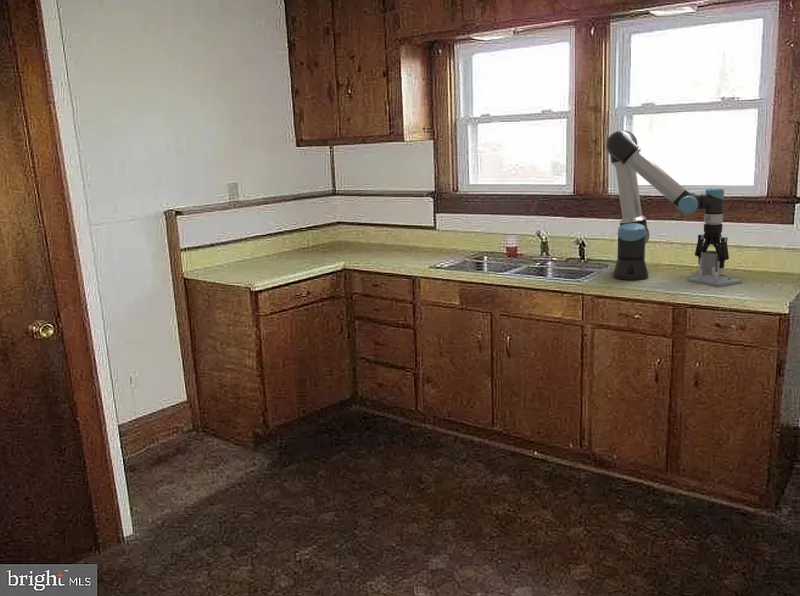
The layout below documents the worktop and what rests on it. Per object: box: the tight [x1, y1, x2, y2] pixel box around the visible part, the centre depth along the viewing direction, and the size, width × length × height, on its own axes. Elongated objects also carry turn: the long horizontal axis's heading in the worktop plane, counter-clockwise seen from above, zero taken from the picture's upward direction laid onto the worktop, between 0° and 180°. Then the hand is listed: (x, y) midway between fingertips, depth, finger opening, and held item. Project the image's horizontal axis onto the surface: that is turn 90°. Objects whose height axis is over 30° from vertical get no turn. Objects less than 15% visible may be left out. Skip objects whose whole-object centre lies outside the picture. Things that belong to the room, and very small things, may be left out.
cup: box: [701, 250, 719, 276], centre depth 316 cm, size 8×8×10 cm
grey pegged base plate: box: [686, 267, 743, 288], centre depth 300 cm, size 16×14×5 cm
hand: (710, 273), depth 317 cm, fingers open, 9 cm apart
